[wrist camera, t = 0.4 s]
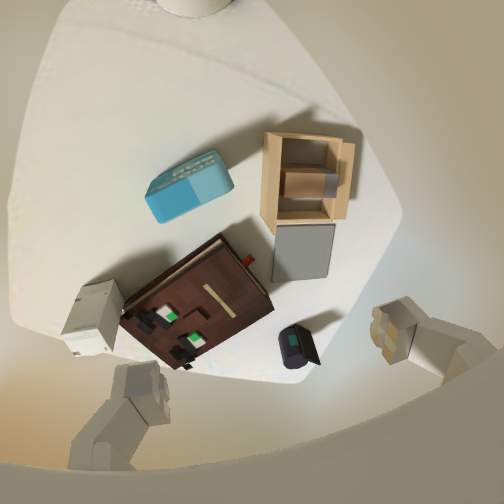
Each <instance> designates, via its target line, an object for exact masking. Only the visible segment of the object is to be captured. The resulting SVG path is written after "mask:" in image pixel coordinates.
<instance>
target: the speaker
mask: <svg viewBox="0 0 504 504" xmlns="http://www.w3.org/2000/svg"><path fill="white" fill-rule="evenodd" d="M294 326H295V328H288V329H286V330H284V331H282V332H281V333H280V334H279V338H278V340H279V345H280V350H281V354H282V359H283V364H284V366H285V367H286V368H287V369H298V368H301V367H303V366H305V365H306V364H307V363H308V361H310V362H312V363H315V364H317V365H321V363H320V360H319V357H318V353H317V350H316V347H315V344H314V341H313V338H312V335H311V332H310V331H309V330H307V329H305V328H303V327H301V326H299V325H298V324H296V323H295V324H294Z"/></svg>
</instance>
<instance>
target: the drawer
mask: <svg viewBox="0 0 504 504" xmlns="http://www.w3.org/2000/svg"><path fill="white" fill-rule="evenodd" d="M282 138H294V139H310V140H323V141H328V144H327V155H326V165H325V168H327V169H329V170H331V171H333V172H335V173H337V174H339V178H338V187H337V195H336V198H322V203H321V211H277V210H278V196H279V182H280V167H281V151H282ZM354 152H355V144H354V143H345V142H342V139H341V138H337V137H334V136H328V135H316V134H303V133H287V132H266V131H264V140H263V161H262V181H261V200H260V216H261V217H262V219H263V220H264V222H265V223H266V225H267V226H268V228H269V229H270V231H271V233H272V234H273V235H276V224H277V223H302V222H333V219H346V214H347V208H348V201H349V193H350V186H351V178H352V170H353V161H354Z"/></svg>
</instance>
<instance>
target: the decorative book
mask: <svg viewBox="0 0 504 504" xmlns="http://www.w3.org/2000/svg"><path fill="white" fill-rule="evenodd" d="M254 261H255V259H254V258H253V257H252V256H251V255H250V254H249V255H248V256H247V257H246V258H244V259H243V260H241V258H240V257H239V256H238V254H237V253H236V252H235V251H234V249H233V248H232V247H231V246H230V244H229V243H228V242H227V240H226V239H225V238H224V237H223V235H222V234H221V233H219V234H217V235H216V236H214V237H213V238H212V239H210V240H209V241H207V242H206V243H204V244H203V245H202V246H200V247H199V248H197V249H196V250H195V251H193V252H192V253H190V254H189V255H187V256H186V257H185V258H183V259H182V260H180V261H179V262H178V263H176V264H175V265H174V266H172V267H171V268H169V269H168V270H167V271H165V272H164V273H162V274H161V275H160V276H158V277H157V278H156V279H154V280H153V281H151V282H150V283H149V284H147V285H146V286H145V287H143V288H142V289H141V290H139V291H138V292H136V293H135V294H134V295H132V296H131V297H130V298H128V299H127V300H126V301H124V305H123V310H125V311H123V312H122V313H121V317H120V321H119V325H120V326H122V327H123V328H124V329H125V330H126V331H127V332H128V333H130V334H131V335H132V336H133V337H134V338H135V339H137V340H138V341H139V342H140V343H141V344H143V345H144V346H145V347H146V348H147V349H149V350H150V351H151V352H152V353H154V354H155V355H156V356H157V357H159V358H160V359H161V360H162V361H164V362H165V363H166V364H168V365H169V366H170V367H171V368H173V369H174V370H176V369H177V368H179V367H181V366H183V367H184V368H185V369H186V370H189V369H191V368H193V367H192V366H191V365H190V364H189V363H190V362H192V361H195V358H197V357H198V356H200V355H202V354H203V353H205V352H207V351H208V350H210V349H212V348H214V347H215V346H217V345H219V344H220V343H222V342H224V341H225V340H227V339H229V338H230V337H232V336H233V335H235V334H237V333H238V332H240V331H242V330H243V329H245V328H246V327H248V326H250V325H251V324H253V323H255V322H256V321H258V320H259V319H261V318H262V317H264V316H266V315H267V314H269V313H270V312H272V311H273V310H275V309H274V307H273V304H272V302H271V300H270V298H269V295H268V293H267V291H266V290H265V289H264V287H263V286H262V285H261V284H260V282H259V281H258V280H257V279H256V277H255V276H254V275H253V274H252V272H251V271H250V270H249V268H248V266H249V265H250V264H251V263H252V262H254ZM186 363H188V364H186ZM184 364H185V365H184Z"/></svg>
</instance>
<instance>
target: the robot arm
mask: <svg viewBox="0 0 504 504" xmlns="http://www.w3.org/2000/svg"><path fill="white" fill-rule="evenodd" d="M156 1H157V3H158V4H159V5H160V6H161V7H162V8H163V9H165V10H166V11H168V12H170V13H172V14H175V15H178V16H183V17H201V16H206V15H210V14H213V13H215V12H217V11H219V10H221V9H223V8H224V7H225V6H227V5H228V4H229V3H230V2H231V1H232V0H156ZM372 316H373V318H374V320H373V322H372V323H371V325H370V334H371V338H372V340H373V342H374V344H375V345H376V346H377V347H379V348H381V349H382V355H383V356H384V358H385V359H386V360H387V362H388V363H389V365H392V364H394V363H397V362H400V361H402V360H405V359H407V358H408V360H410V361H412V362H414V363H416V364H418V365H419V366H421V367H423V368H425V369H427V370H429V371H431V372H433V373H434V374H436V375H438V376H440V377H442V378H443V381H442V383H441V385H440V386H439V387H438V388H436V389H434V390H432V391H430V392H428V393H426V394H424V395H422V396H420V397H418V398H416V399H414V400H412V401H410V402H408V403H406V404H404V405H402V406H399V407H397V408H395V409H393V410H391V411H388V412H386V413H384V414H381V415H379V416H377V417H374V418H372V419H369V420H367V421H365V422H362V423H359V424H357V425H354V426H351V427H349V428H346V429H343V430H341V431H338V432H335V433H332V434H329V435H326V436H323V437H320V438H317V439H313V440H311V441H307V442H304V443H300V444H297V445H293V446H290V447H286V448H282V449H278V450H274V451H270V452H266V453H262V454H258V455H253V456H249V457H243V458H239V459H233V460H228V461H222V462H217V463H210V464H203V465H196V466H187V467H178V468H168V469H157V470H136V469H135V468H134V467H133V466H132V465H131V464H130V463H129V462H130V460H131V458H132V456H133V455H134V453H135V451H136V449H137V448H138V446H139V444H140V442H141V441H142V439H143V437H144V435H145V434H146V432H147V430H148V428H149V427H148V426H155V425H162V424H169V423H170V408H169V406H168V404H167V402H168V401H169V399H170V398H169V389H168V384H167V381H166V378H165V376H164V375H163V374H161V373H160V366H159V364H158V362H157V361H155V360H153V361H145V362H137V363H130V364H123V365H117V366H116V368H115V372H114V378H113V384H112V391H111V398H110V399H109V400H106V401H105V403H104V404H103V405H102V406H101V407H100V408H99V410H98V411H97V412H96V413H95V414H94V416H93V417H92V418H91V419H90V420H89V421H88V423H87V424H86V425H85V426H84V427H83V428H82V430H81V431H80V432H79V433H78V434H77V435H76V437H75V438H74V439H73V440H72V442H71V448H70V455H69V462H68V469H56V468H47V467H38V466H30V465H24V464H18V463H12V462H7V461H2V460H0V504H504V347H502V348H501V349H499V350H497V349H496V348H495V347H494V346H493V345H492V344H491V343H490V342H489V341H488V340H487V339H486V338H485V337H484V336H483V335H482V334H481V333H479V332H476V331H473V330H470V329H467V328H464V327H461V326H458V325H455V324H451V323H449V322H445V321H442V320H440V319H437V318H434V317H433V318H429V316H428V315H427V314H426V313H425V312H424V311H423V310H422V309H421V308H420V307H418V305H417V304H416V303H415V302H414V301H413V300H412V299H410V297H408V296H405V297H402V298H399V299H396V300H394V301H391V302H388V303H385V304H382V305H379V306H376V307H374V309H373V311H372Z"/></svg>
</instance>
